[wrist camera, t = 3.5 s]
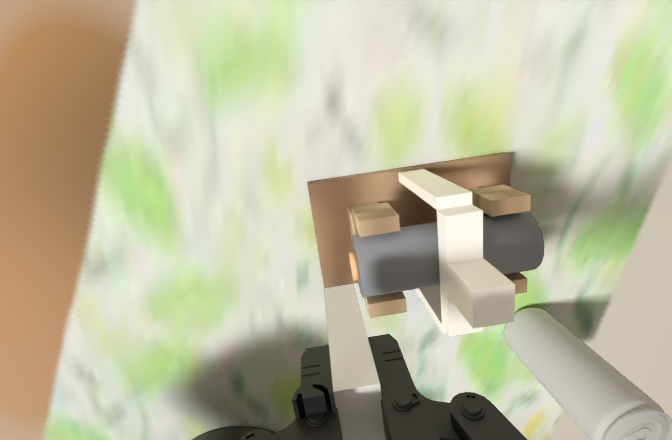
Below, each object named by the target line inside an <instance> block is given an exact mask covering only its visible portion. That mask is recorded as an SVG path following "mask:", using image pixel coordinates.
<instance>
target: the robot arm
mask: <svg viewBox="0 0 672 440" xmlns="http://www.w3.org/2000/svg"><path fill="white" fill-rule="evenodd" d="M324 297H325V308H326V319H327V329H328V340H329V345H324V346H318V347H312V348H307V349H306V350H305V352H304V354H303V356H302V358H301V387H300V388H298V390H297V391H296V392H295V393H294V396H293V399H292V402H293V407H294V411H295V416H296V419H295V420H294V422H293V423H292V424H290V425H289V426H288V427H286V428H285V429H283V430H281V431H279V432H277V433H274V432H271V431H267V430H263V429H258V428H250V427H233V428H225V429H219V430H215V431H212V432H209V433H206V434H203V435H201V436H199V437H197V438H195V439H193V440H527V439H526V438H525V437H524V436H523V435H522V434H521V433H520V432H519V431H518V430H517V429H516V428H515V427H514V426H513V425H512V424H511V422H510V421H509V420H508V419H507V418H506V417H505V416H504V415H503V414H502V413H501V412H500V411H499V410H498V409H497V408H496V407H495V406H494V405H493V404H492V403H491V402H490V401H489V400H487V399H486V398H485V397H483V396H481V395H479V394H476V393H471V392H464V393H459V394H458V395H456V396H455V397H453V399H452V401H451V403H446V402H438V401H433V400H430V399H428V398H425V397H424V396H422V395H421V394H420V393H419V392H418V391H417V389H416V388H415V386H414V383H413V381H412V378H411V376H410V373H409V371H408V368H407V365H406V363H405V360H404V358H403V355H402V353H401V350H400V348H399V345H398V342H397V341H396V340H395V339H394V338H393V337H392V336H391V335H390V334H386V335H380V336H373V337H367V333H366V329H365V326H364V322H363V318H362V314H361V311H360V307H359V303H358V299H357V296H356V292H355V288H354V285H353V284H352V285H346V286H339V287H333V288H327V289H324Z"/></svg>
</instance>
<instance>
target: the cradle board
mask: <svg viewBox="0 0 672 440" xmlns="http://www.w3.org/2000/svg"><path fill="white" fill-rule="evenodd" d="M419 169H425V170H427V171H429V172H431V173H433V174H435V175H437V176H440V177H442V178H444V179H446V180H448V181H450V182H452V183H454V184H456V185H458V186H460V187H462V188H464V189H467V190H469V191H471V192H472V205H474V206H476V207H478V208H479V209H481V210H483V215H484V214H488V215H490V216H491V217H493V216H500V215H506V214H512V213H519V212H525V211H530V208H531V194H528V193H525V192H522V191H520V190H517V189H514V188H511V187H510V154H508V153H497V154H491V155H484V156H477V157H471V158H464V159H457V160H451V161H444V162H437V163H430V164H424V165H417V166H410V167H404V168H397V169H390V170H384V171H377V172H370V173H364V174H357V175H350V176H343V177H337V178H330V179H323V180H317V181H310V182H308V190H309V196H310V202H311V209H312V215H313V221H314V227H315V233H316V239H317V245H318V251H319V257H320V264H321V270H322V276H323V282H324V288H328V287H334V286H340V285H346V284H353V283H358V280H356V281H353V277H352V272H351V266H350V259H349V253H351V252H353V245H352V235H355V234H359V235H360V237H365V236H371V235H378V234H384V233H391V232H397V231H400V227H407V226H413V225H419V224H426V223H432V222H437V210H436V209H435V208H433V207H432V206H431V205H429V204H428V203H427V202H425V201H424V200H423V199H421V198H420V197H419V196H417V195H416V194H415V193H413V192H412V191H411V190H409V189H408V188H407V187H405V186H404V185H403V184H401V183H400V182H399V177H398V173H399V172H406V171H413V170H419ZM504 276H506V277H507V278H508V279H509V280H510V281H512V282H513V283H514V284H515V294H518V293H524V292H527V278H526V277H525V276H523V275H522V274H521V273H519V272H516V273H510V274H504ZM364 299H365V303H366V306H367V309H368V312H369V316H370V318H373V317H379V316H385V315H391V314H397V313H403V312H407V308H406V298H405V296H404V294H403V292H402V291H399V292H393V293H387V294H381V295H375V296H368V297H364Z"/></svg>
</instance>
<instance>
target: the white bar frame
mask: <svg viewBox="0 0 672 440" xmlns="http://www.w3.org/2000/svg"><path fill="white" fill-rule="evenodd" d="M398 177H399V182H400V183H401V184H403V185H404V186H405V187H407V188H408V189H409V190H411V191H412V192H413V193H415V194H416V195H417V196H419V197H420V198H421V199H423V200H424V201H425V202H427V203H428V204H429V205H431V206H432V207H433V208H435V209H436V210H437V228H438V250H439V272H440V285H436V286H430V287H424V288H418V289H415V290H416V292H417V293H418V295H419V297H420V298H421V300H422V302H423V303H424V305H425V307H426V308H427V310H428V312H429V313H430V315H431V316H432V318H433V320H434V321H435V323H436V325H437V326H438V328H439V330H440V331H441V333H442V334H446V333H448V335H449V337H451V336H457V335H463V334H469V333H475V332H481V331H483V327H486V326H492V325H498V324H504V323H509V322H514V307H515V284H514V283H513V282H512V281H510V280H509V279H508V278H507V277H506V276H504V275H503V274H502V273H501V272H499V271H498V270H497V269H496V268H495V267H493V266H492V265H491V264H490V263H489V262H487V261H486V260H485V259H484V258H483V210H481V209H479V208H478V207H476V206H474V205H472V192H471V191H469V190H467V189H464V188H462V187H460V186H458V185H456V184H454V183H452V182H450V181H448V180H446V179H444V178H442V177H440V176H437V175H435V174H433V173H431V172H429V171H427V170H425V169H419V170H413V171H406V172H399V173H398Z"/></svg>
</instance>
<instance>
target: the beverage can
mask: <svg viewBox="0 0 672 440" xmlns="http://www.w3.org/2000/svg"><path fill="white" fill-rule="evenodd" d="M504 339H505V342H506V344H507V345H508V346H509V347H510V348H511V349H512V351H513V352H514V353H515V354H516V355H517V356H518V358H519V359H520V360H521V361H522V362H523V363H524V365H525V366H526V367H527V368H528V369H529V370H530V371H531V373H532V374H533V375H534V376H535V377H536V378H537V380H538V381H539V382H540V383H541V384H542V385H543V387H544V388H545V389H546V390H547V391H548V392H549V393H550V395H551V396H552V397H553V398H554V399H555V400H556V402H557V403H558V404H559V405H560V406H561V407H562V409H563V410H564V411H565V412H566V413H567V414H568V415H569V416H570V418H571V419H572V420H573V421H574V422H575V424H576V425H577V426H578V427H579V428H580V429H581V430H582V432H583V433H584V434H585V435H586V436H587V437H588V439H589V440H671V438H672V420H671V419H670V417H669V416H668V415H667V414H665V413H664V411H663V410H662V408H661V407H660V406H659V405H658V404H657V403H656V402H655V401H654V400H652V399H651V398H650V397H649V396H648V395H646V394H645V393H644V392H643V391H642V390H640V389H639V388H638V387H637V386H635V385H634V384H633V383H632V382H631V381H629V380H628V379H627V378H626V377H625V376H623V375H622V374H621V373H620V372H619V371H617V370H616V369H615V368H614V367H613V366H611V365H610V364H609V363H608V362H607V361H605V360H604V359H603V358H602V357H600V356H599V355H598V354H597V353H596V352H595V351H593V350H592V349H591V348H590V347H589V346H587V345H586V344H585V343H584V342H582V341H581V340H580V339H579V338H578V337H576V336H575V335H574V334H573V333H572V332H570V331H569V330H568V329H567V328H566V327H564V326H563V325H562V324H561V323H560V322H558V321H557V320H556V319H555V318H554V317H552V316H551V315H550V314H549V313H547V312H546V311H545V310H543V309H539V308H525V309H521V310H519V311H517V312H515V313H514V322H509V323H506V324H505V328H504Z"/></svg>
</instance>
